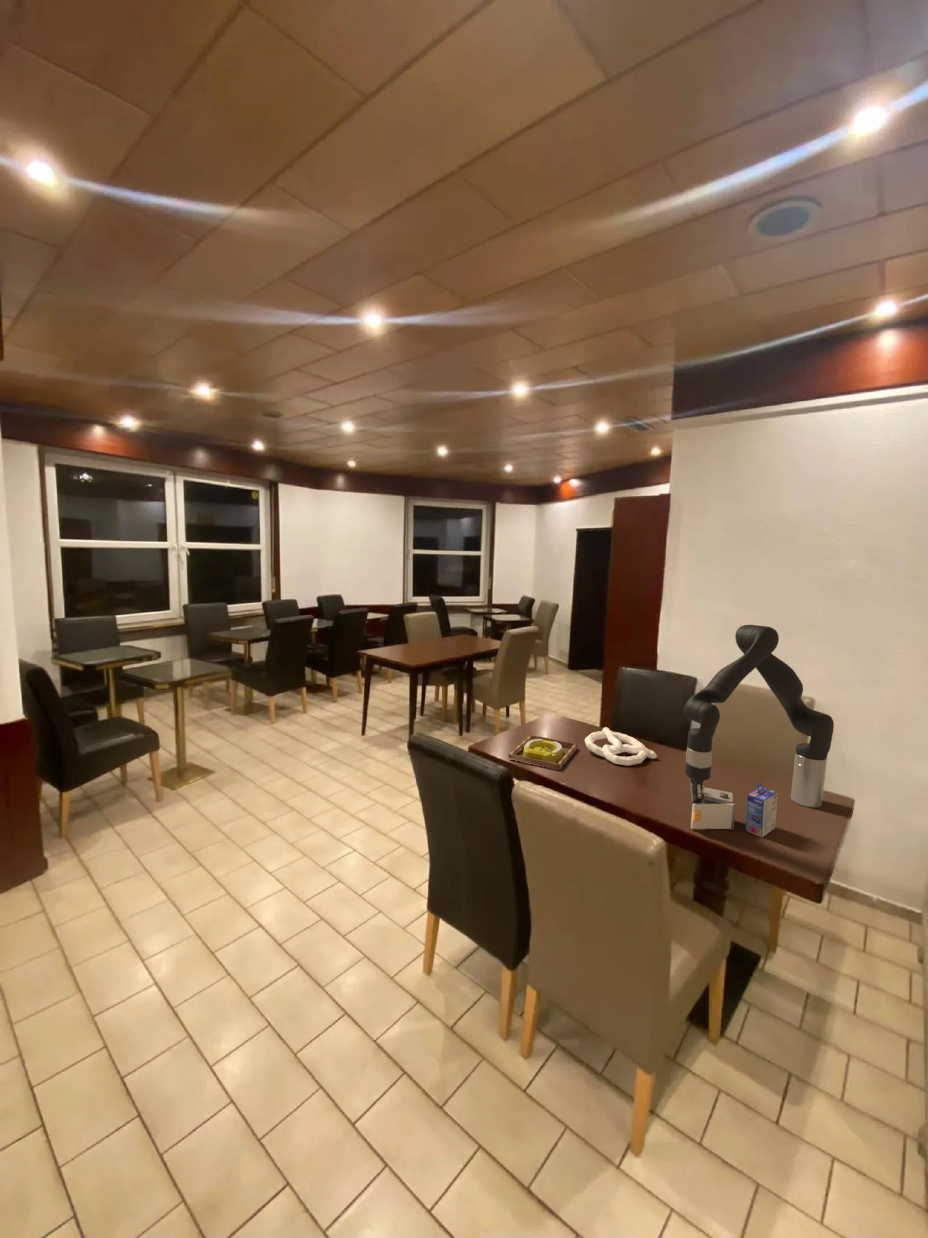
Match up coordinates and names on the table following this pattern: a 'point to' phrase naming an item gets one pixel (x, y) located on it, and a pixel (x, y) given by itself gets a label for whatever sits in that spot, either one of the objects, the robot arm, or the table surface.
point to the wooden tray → (540, 762)
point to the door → (713, 816)
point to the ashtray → (543, 750)
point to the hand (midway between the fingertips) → (695, 812)
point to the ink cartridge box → (761, 811)
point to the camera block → (717, 796)
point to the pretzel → (618, 747)
